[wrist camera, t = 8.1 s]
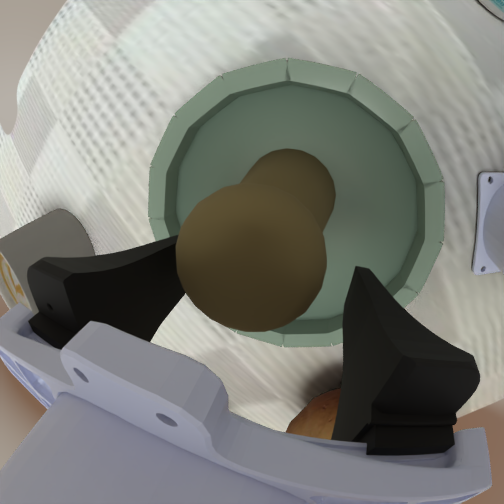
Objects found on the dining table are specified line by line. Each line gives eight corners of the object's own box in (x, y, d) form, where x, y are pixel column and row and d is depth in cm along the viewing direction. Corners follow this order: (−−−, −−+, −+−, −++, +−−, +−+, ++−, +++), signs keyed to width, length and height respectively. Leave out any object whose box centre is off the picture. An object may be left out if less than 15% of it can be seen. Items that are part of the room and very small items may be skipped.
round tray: (410, 57, 12) (421, 48, 10) (423, 317, 19) (429, 337, 17) (141, 114, 18) (120, 116, 16) (206, 326, 26) (196, 343, 24)
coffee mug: (75, 199, 24) (0, 237, 15) (108, 282, 28) (48, 335, 19) (30, 223, 29) (-23, 254, 20) (56, 285, 32) (10, 323, 24)
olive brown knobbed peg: (230, 167, 18) (119, 224, 8) (317, 135, 15) (298, 147, 6) (264, 246, 20) (199, 362, 10) (347, 224, 17) (358, 345, 8)
